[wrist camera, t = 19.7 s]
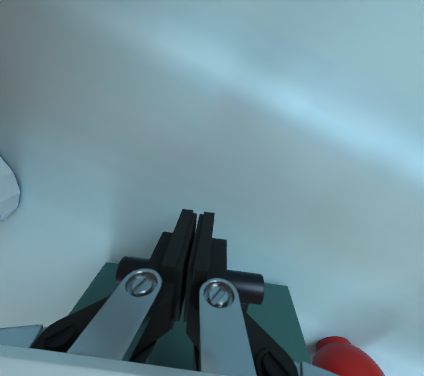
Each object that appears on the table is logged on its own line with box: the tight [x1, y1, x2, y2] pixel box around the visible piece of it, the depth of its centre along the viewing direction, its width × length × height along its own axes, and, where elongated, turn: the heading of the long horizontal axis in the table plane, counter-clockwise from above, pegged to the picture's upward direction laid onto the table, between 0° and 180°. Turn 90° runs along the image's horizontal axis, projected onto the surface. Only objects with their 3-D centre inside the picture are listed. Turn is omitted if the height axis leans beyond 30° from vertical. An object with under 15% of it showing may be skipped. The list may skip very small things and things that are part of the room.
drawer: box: [68, 256, 311, 371], centre depth 16 cm, size 21×15×8 cm
